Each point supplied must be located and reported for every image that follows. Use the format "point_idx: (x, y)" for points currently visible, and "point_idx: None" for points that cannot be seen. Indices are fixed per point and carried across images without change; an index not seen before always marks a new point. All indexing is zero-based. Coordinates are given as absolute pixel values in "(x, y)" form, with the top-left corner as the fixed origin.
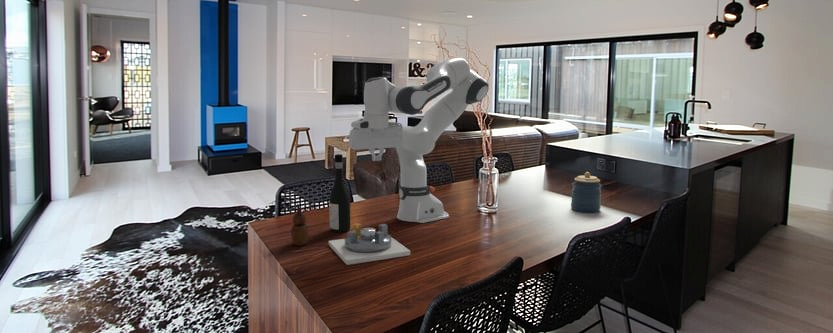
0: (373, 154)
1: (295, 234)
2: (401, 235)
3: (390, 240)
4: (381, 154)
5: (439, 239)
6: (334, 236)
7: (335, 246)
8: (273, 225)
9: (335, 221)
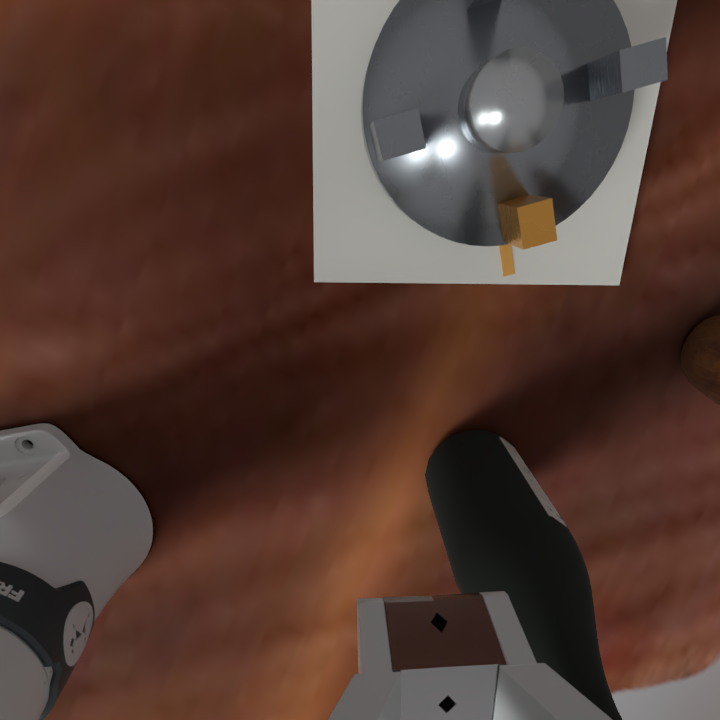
0: (568, 698)
1: None
2: (228, 272)
3: (395, 6)
4: (362, 698)
5: (43, 106)
6: (530, 391)
7: (633, 180)
8: (675, 617)
9: (524, 465)
